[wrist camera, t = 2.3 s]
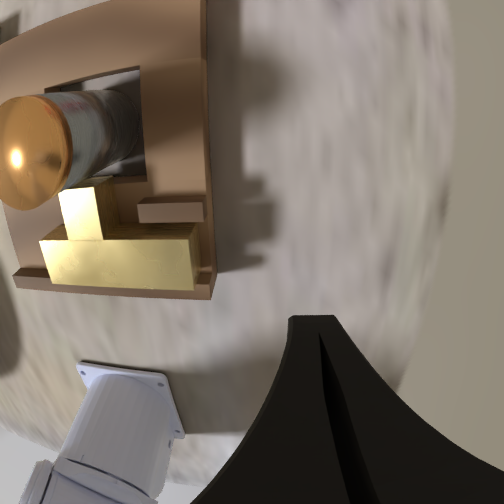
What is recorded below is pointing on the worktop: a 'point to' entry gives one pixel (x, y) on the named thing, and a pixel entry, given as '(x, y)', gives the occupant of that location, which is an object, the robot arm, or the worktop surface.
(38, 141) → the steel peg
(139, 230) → the bar
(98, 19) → the socket plate
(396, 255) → the worktop surface
